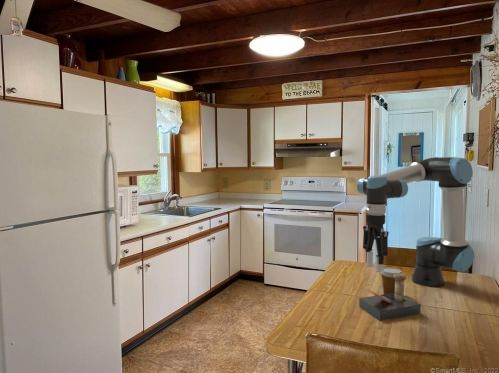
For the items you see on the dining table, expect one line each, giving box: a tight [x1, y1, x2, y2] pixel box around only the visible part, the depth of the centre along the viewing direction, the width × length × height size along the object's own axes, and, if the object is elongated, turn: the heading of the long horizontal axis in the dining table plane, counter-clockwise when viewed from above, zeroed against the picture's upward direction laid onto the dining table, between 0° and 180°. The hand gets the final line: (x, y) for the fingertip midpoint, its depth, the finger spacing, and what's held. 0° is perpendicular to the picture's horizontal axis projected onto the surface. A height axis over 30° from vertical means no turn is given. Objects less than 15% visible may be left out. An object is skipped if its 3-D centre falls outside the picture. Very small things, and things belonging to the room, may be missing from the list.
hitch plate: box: [358, 293, 422, 321], centre depth 158 cm, size 20×14×4 cm
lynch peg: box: [393, 273, 407, 302], centre depth 159 cm, size 5×5×15 cm
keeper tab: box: [366, 288, 393, 304], centre depth 156 cm, size 10×6×1 cm, turn 109°
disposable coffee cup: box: [380, 266, 403, 295], centre depth 174 cm, size 10×10×12 cm
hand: (374, 269), depth 154 cm, fingers open, 6 cm apart
